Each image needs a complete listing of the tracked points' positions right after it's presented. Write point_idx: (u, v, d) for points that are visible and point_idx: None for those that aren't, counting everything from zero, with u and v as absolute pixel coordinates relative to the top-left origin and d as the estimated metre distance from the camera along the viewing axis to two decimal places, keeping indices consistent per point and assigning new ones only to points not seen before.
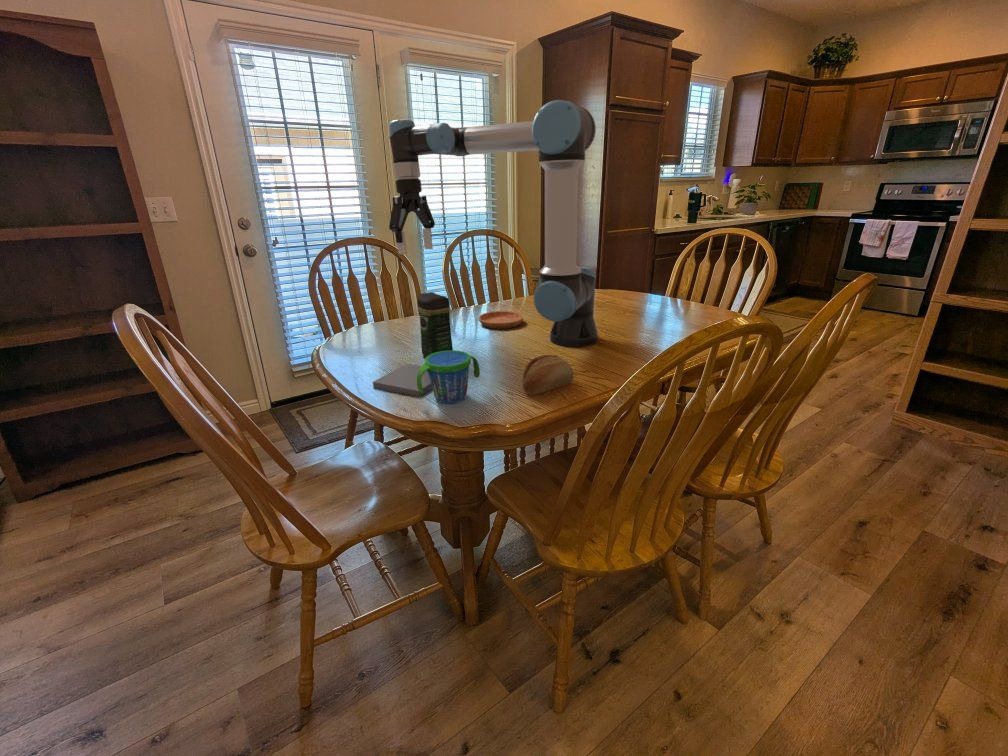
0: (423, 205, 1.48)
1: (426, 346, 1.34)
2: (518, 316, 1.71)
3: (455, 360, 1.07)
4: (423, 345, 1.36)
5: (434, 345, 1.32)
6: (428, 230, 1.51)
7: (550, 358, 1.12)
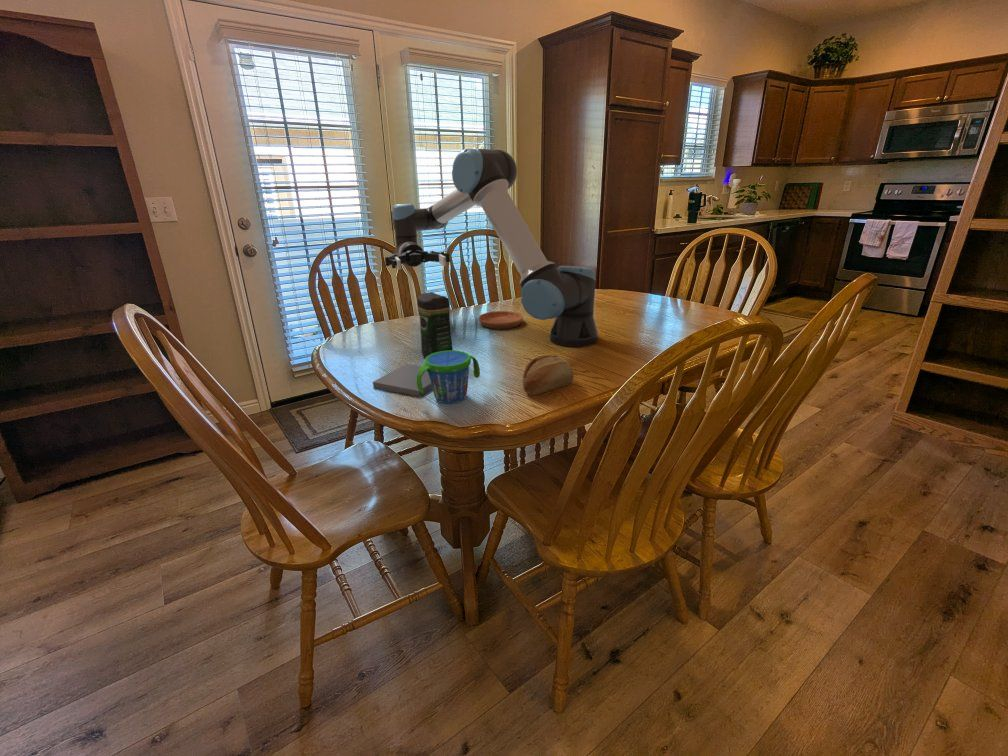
0: None
1: (426, 346, 1.34)
2: (518, 316, 1.71)
3: (455, 360, 1.07)
4: (423, 345, 1.36)
5: (434, 345, 1.32)
6: (439, 255, 1.47)
7: (550, 358, 1.12)
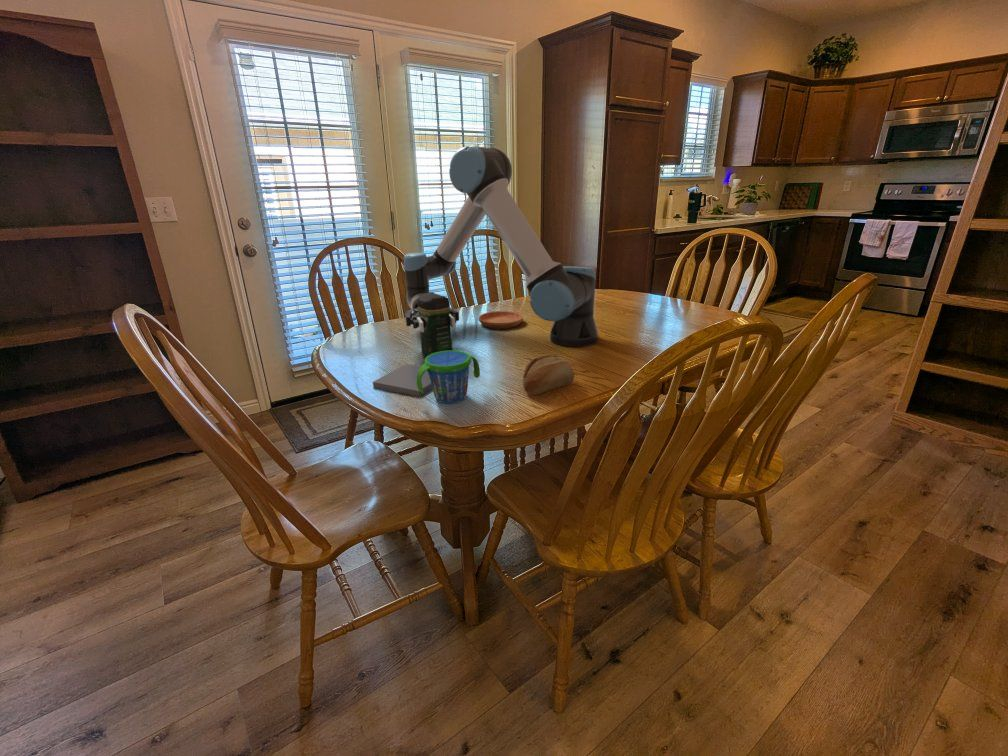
0: None
1: (426, 346, 1.34)
2: (518, 316, 1.71)
3: (455, 360, 1.07)
4: (423, 345, 1.36)
5: (434, 345, 1.32)
6: None
7: (550, 358, 1.12)
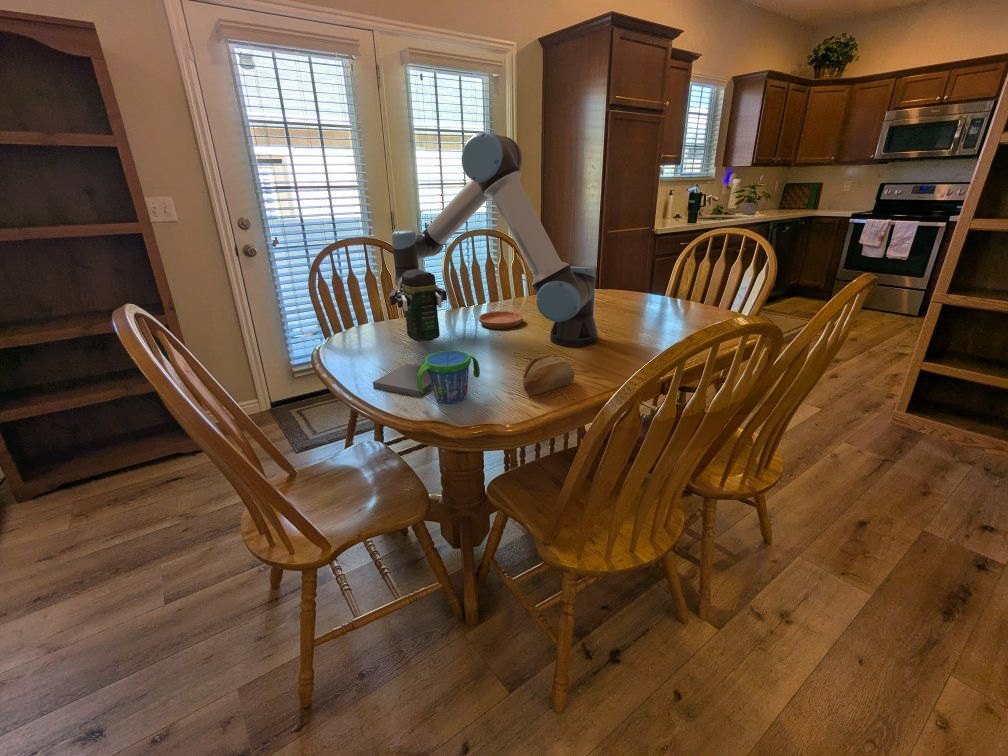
0: None
1: (411, 326, 1.26)
2: (518, 316, 1.71)
3: (455, 360, 1.07)
4: (408, 325, 1.28)
5: (418, 325, 1.24)
6: None
7: (551, 358, 1.12)
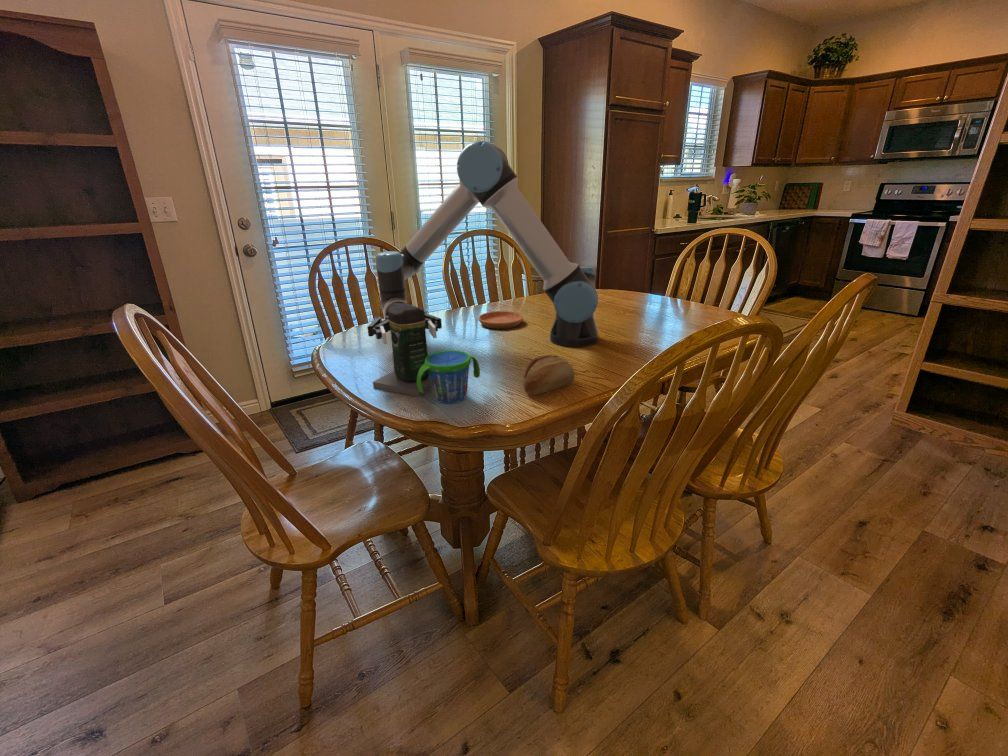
0: None
1: (398, 365, 1.16)
2: (518, 316, 1.71)
3: (455, 360, 1.07)
4: (395, 364, 1.17)
5: (407, 365, 1.14)
6: (428, 323, 1.19)
7: (551, 358, 1.12)
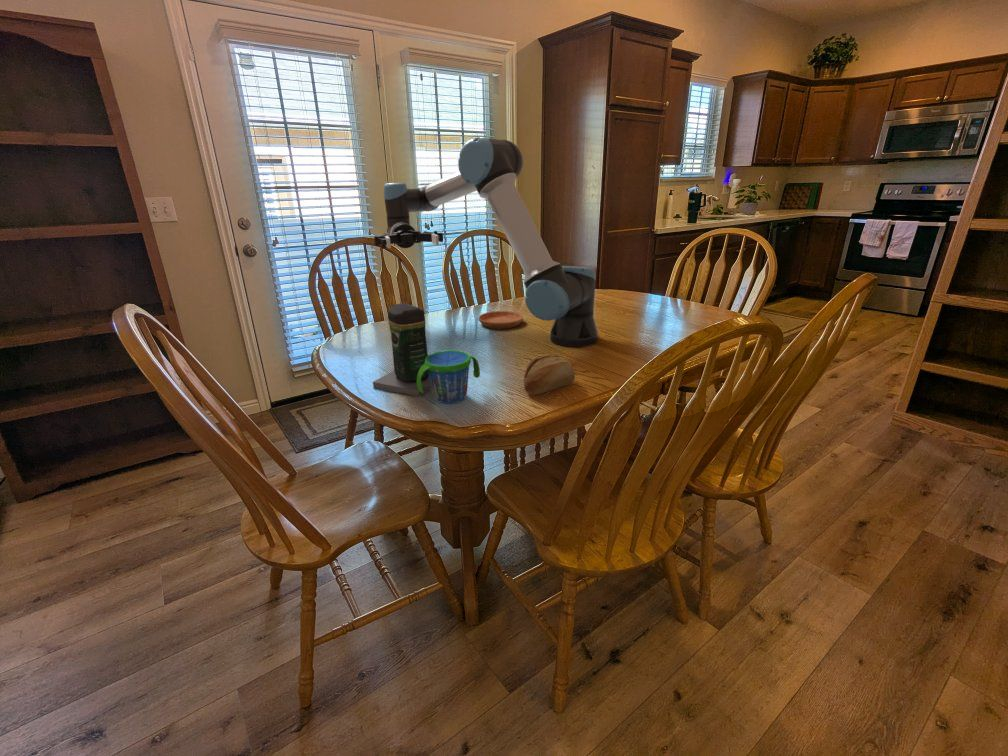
0: None
1: (398, 365, 1.16)
2: (518, 316, 1.71)
3: (455, 360, 1.07)
4: (395, 364, 1.17)
5: (407, 365, 1.14)
6: (431, 235, 1.39)
7: (551, 358, 1.12)
